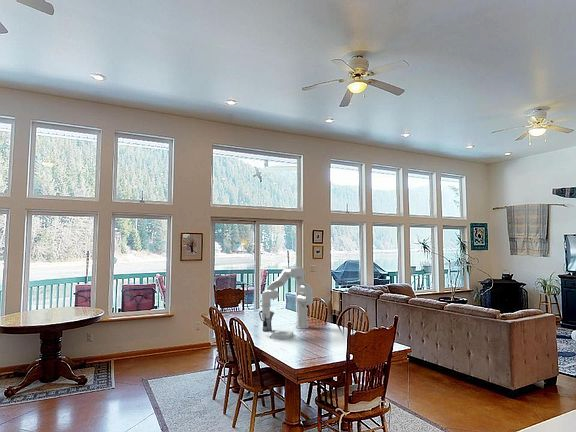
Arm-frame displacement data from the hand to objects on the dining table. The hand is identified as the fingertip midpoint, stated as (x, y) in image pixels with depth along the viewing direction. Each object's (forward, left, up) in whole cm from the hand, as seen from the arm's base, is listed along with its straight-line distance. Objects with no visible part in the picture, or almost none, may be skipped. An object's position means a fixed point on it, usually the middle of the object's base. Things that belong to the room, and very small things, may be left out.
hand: (266, 325), depth 335 cm
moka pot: (-20, -6, -9) cm, 23 cm away
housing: (-2, +14, -9) cm, 17 cm away
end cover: (0, 0, -4) cm, 4 cm away
